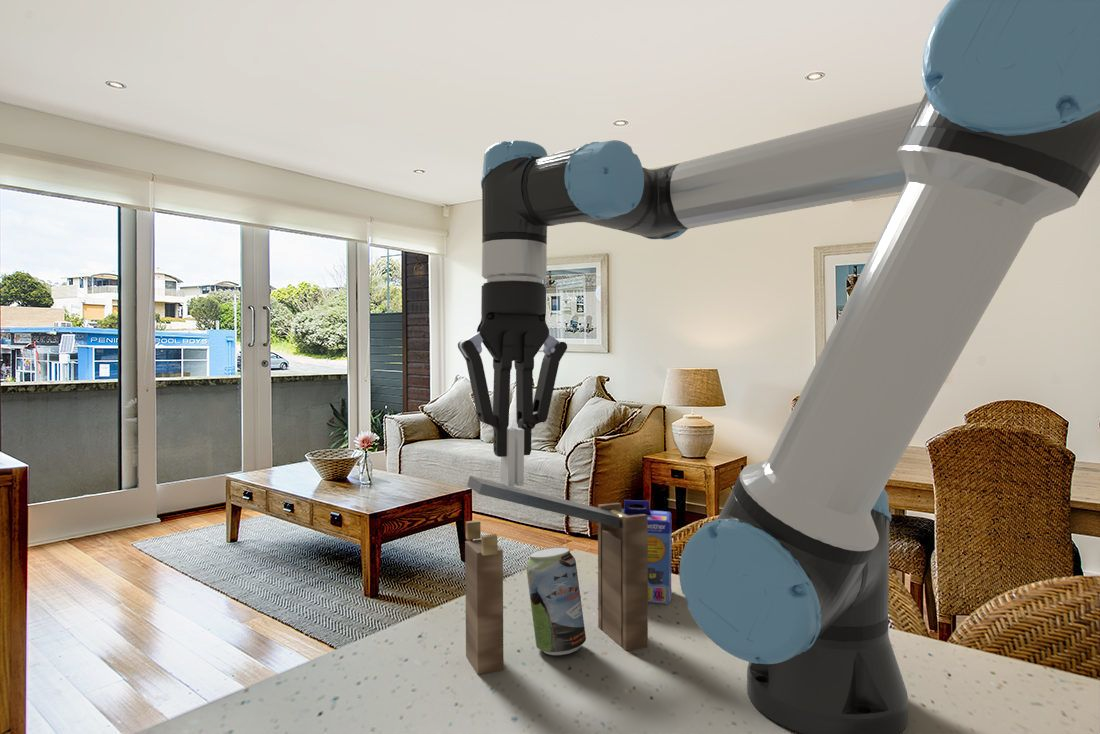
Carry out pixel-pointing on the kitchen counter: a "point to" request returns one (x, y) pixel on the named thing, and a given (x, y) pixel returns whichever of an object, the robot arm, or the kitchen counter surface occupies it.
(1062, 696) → the kitchen counter surface
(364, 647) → the kitchen counter surface
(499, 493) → the grey bridge beam
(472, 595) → the can clamp frame
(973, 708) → the kitchen counter surface
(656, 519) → the ink cartridge box
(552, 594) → the beverage can
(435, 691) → the kitchen counter surface
